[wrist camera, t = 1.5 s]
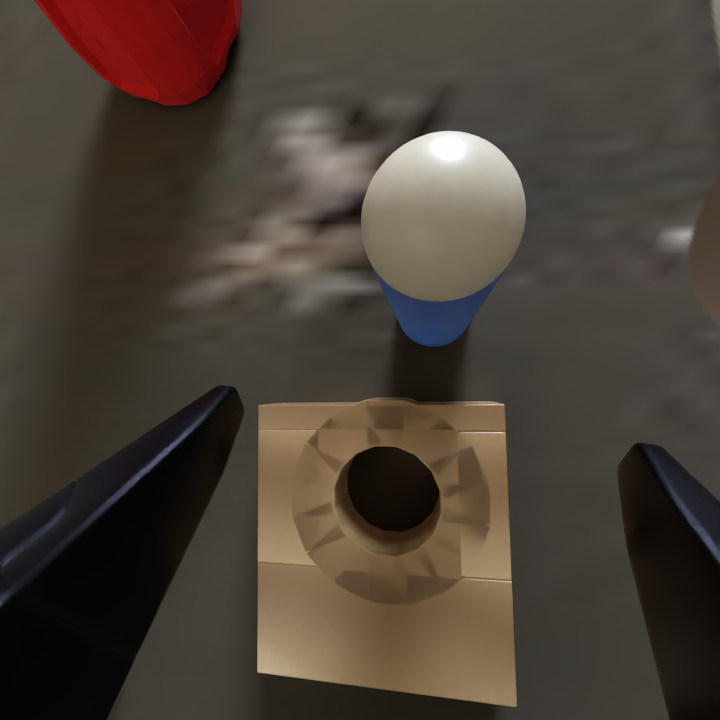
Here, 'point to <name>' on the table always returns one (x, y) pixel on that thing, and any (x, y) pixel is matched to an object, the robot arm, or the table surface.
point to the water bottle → (151, 42)
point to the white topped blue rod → (442, 230)
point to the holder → (386, 552)
